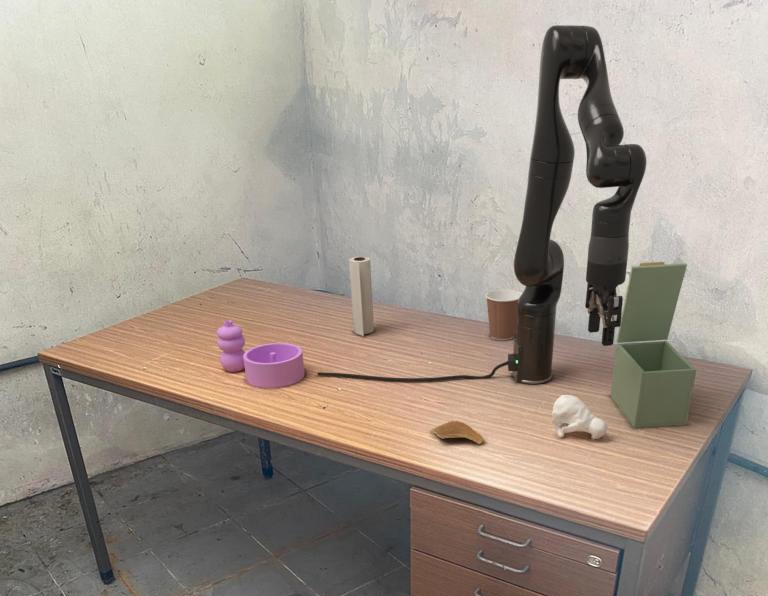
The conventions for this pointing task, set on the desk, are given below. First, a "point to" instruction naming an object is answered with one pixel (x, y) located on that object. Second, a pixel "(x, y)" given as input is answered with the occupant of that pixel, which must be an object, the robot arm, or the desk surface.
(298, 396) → the desk surface
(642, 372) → the chest
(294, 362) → the container set
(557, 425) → the white lumpy piece
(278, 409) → the desk surface
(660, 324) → the lid
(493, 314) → the coffee cup
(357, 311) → the beige tall hexagonal prism
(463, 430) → the pottery shard
